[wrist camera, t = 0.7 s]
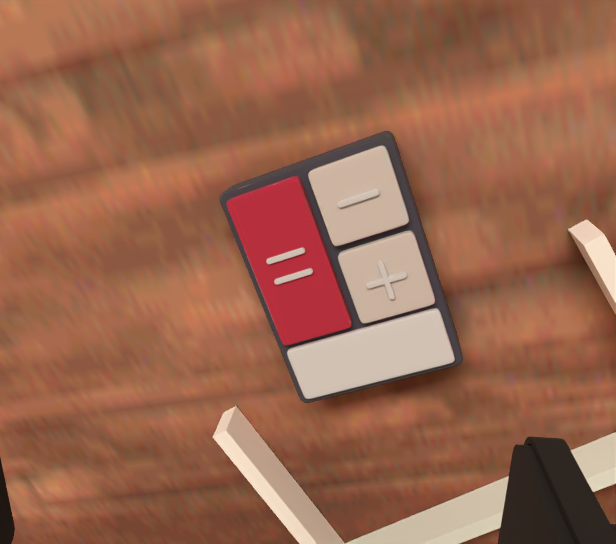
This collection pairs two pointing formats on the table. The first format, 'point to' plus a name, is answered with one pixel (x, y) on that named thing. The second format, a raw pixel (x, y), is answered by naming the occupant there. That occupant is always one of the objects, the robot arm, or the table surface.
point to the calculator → (344, 269)
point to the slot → (437, 520)
